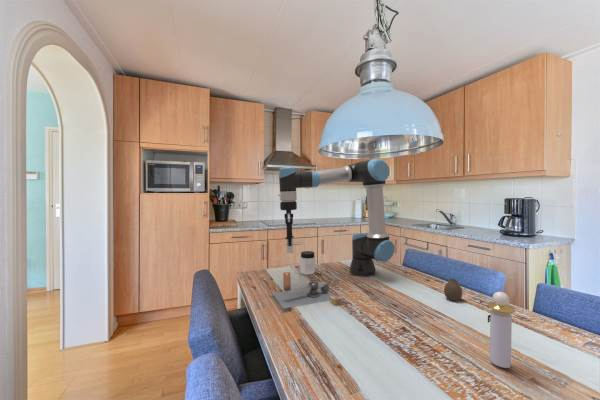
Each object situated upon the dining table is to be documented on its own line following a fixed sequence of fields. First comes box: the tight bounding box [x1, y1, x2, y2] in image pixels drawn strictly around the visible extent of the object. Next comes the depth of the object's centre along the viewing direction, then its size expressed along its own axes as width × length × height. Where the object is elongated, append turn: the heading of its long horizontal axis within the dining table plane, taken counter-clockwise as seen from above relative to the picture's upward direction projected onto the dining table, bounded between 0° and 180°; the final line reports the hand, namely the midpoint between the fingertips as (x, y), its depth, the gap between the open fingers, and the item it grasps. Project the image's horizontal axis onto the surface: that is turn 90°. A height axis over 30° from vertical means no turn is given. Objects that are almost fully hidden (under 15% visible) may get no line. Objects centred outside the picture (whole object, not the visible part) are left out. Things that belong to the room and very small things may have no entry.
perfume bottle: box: [487, 291, 516, 369], centre depth 70 cm, size 6×6×20 cm
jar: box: [299, 250, 316, 276], centre depth 154 cm, size 9×8×12 cm
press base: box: [272, 287, 335, 313], centre depth 116 cm, size 25×17×4 cm
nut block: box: [329, 294, 344, 307], centre depth 108 cm, size 4×4×4 cm
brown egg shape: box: [443, 278, 463, 302], centre depth 114 cm, size 7×7×9 cm
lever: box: [282, 271, 330, 294], centre depth 115 cm, size 22×4×11 cm, turn 118°
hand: (290, 252), depth 119 cm, fingers closed
